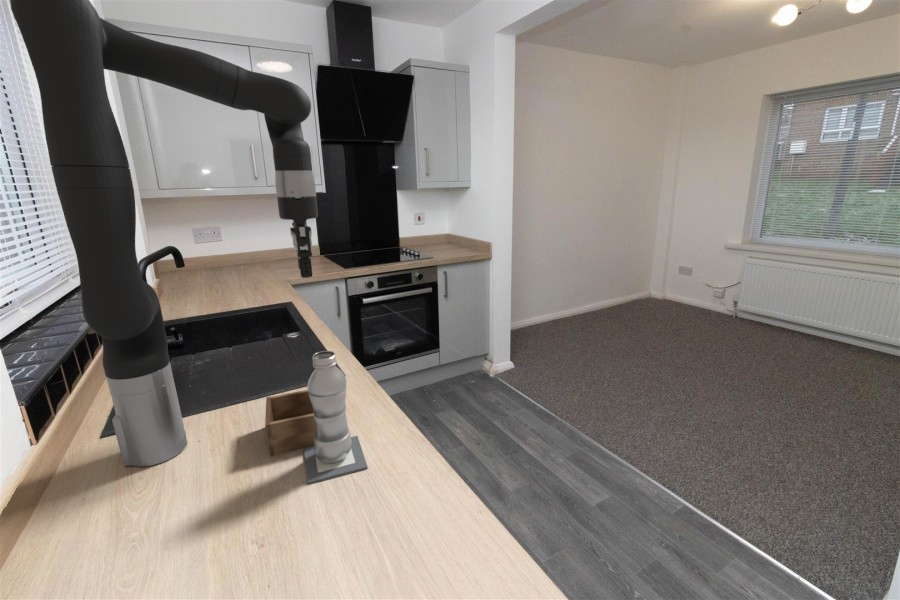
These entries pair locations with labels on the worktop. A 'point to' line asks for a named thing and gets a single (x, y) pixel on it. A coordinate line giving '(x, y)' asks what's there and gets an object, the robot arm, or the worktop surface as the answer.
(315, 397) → the plastic bottle
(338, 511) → the worktop surface
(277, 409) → the crate
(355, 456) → the mat
